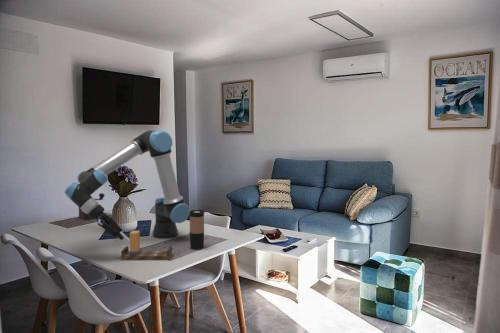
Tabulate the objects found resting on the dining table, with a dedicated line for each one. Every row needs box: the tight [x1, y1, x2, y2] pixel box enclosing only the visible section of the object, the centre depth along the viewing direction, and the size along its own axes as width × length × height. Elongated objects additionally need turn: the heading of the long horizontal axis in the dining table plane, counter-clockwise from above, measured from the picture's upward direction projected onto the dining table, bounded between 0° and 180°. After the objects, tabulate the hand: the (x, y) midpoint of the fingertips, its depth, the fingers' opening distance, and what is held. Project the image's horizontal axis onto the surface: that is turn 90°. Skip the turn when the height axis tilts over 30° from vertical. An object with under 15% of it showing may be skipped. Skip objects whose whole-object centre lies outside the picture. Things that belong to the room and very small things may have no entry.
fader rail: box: [120, 245, 173, 261], centre depth 180 cm, size 23×8×4 cm, turn 93°
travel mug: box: [189, 209, 205, 251], centre depth 196 cm, size 8×8×20 cm
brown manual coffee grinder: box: [78, 192, 105, 221], centre depth 267 cm, size 16×11×18 cm
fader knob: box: [129, 230, 142, 255], centre depth 179 cm, size 4×6×10 cm
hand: (128, 242), depth 179 cm, fingers closed
